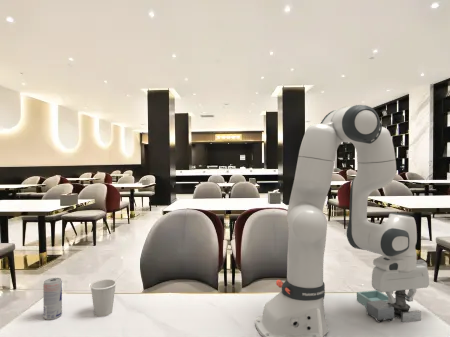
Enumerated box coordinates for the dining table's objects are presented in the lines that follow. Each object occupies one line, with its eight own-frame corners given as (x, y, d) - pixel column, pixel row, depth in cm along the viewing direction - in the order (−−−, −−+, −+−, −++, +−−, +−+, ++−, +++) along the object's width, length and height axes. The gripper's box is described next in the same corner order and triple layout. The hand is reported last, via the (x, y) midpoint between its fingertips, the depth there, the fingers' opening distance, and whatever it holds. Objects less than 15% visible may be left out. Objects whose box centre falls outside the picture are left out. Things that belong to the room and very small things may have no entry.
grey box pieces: (381, 325, 99) (381, 311, 99) (363, 312, 107) (363, 299, 107) (420, 320, 102) (420, 306, 102) (400, 308, 111) (400, 295, 111)
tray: (373, 311, 108) (373, 302, 108) (356, 300, 117) (356, 292, 117) (395, 308, 110) (395, 300, 110) (377, 298, 119) (377, 290, 119)
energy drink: (62, 311, 107) (62, 276, 107) (60, 318, 102) (60, 282, 102) (45, 314, 105) (44, 278, 105) (42, 321, 100) (42, 284, 100)
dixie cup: (86, 312, 106) (86, 283, 106) (109, 304, 112) (109, 277, 112) (96, 321, 100) (96, 290, 100) (120, 312, 106) (120, 283, 106)
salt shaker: (413, 320, 102) (413, 284, 102) (393, 318, 103) (394, 282, 103) (406, 312, 108) (406, 277, 108) (388, 310, 109) (388, 276, 109)
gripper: (419, 256, 111) (418, 295, 111) (368, 260, 106) (368, 300, 106) (434, 262, 104) (434, 303, 105) (382, 266, 100) (381, 309, 100)
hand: (400, 301), depth 105 cm, fingers open, 5 cm apart
